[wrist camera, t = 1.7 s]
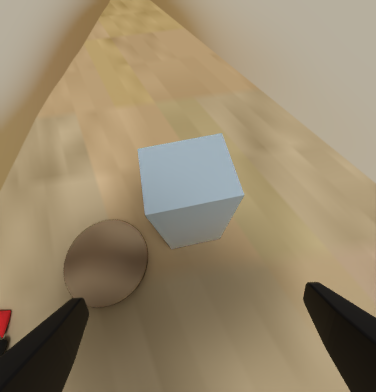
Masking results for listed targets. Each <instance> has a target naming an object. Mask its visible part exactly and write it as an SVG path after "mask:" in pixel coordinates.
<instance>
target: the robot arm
mask: <svg viewBox="0 0 376 392" xmlns="http://www.w3.org/2000/svg"><path fill="white" fill-rule="evenodd" d="M303 300H304V303H305V306H306V308H307V310H308V312H309V314H310V316H311V318H312V321H313V323H314V325H315V327H316V329H317V331H318V333H319V336H320V338H321V340H322V342H323V344H324V346H325V348H326V350H327V351H328V353H329V355H330V357H331V358H332V360H333V362H334V364H335V365H336V367H337V369H338V371H339V372H340V374H341V376H342V378H343V379H344V381H345V383H346V385H347V386H348V388H349V390H350V391H351V392H376V318H375V317H374V316H372V315H370V314H369V313H367V312H366V311H364V310H362V309H361V308H359V307H358V306H356V305H354V304H353V303H351V302H350V301H348V300H346V299H345V298H343V297H342V296H340V295H338V294H337V293H335V292H334V291H332V290H330V289H329V288H327V287H325V286H324V285H322V284H321V283H319V282H308V283H307V284H306V286H305V291H304V296H303ZM88 317H89V311H88V308H87V305H86V302H85V300H84V298H83V297H78V298H72V299H70V300H69V301H68V302H67V303H65V304H64V305H63V306H62V307H60V308H59V309H58V310H57V311H56V312H54V313H53V314H52V315H51V316H49V317H48V318H47V319H46V320H45V321H43V322H42V323H41V324H40V325H38V326H37V327H36V328H35V329H33V330H32V331H31V332H30V333H29V334H27V335H26V336H25V337H24V338H22V339H21V340H20V341H19V342H18V343H16V344H15V345H14V346H13V347H11V348H10V349H9V350H8V351H7V352H5V353H4V354H3V355H2V356H0V392H62V390H63V388H64V385H65V383H66V380H67V378H68V376H69V373H70V371H71V368H72V366H73V363H74V360H75V358H76V355H77V351H78V348H79V345H80V342H81V339H82V336H83V333H84V330H85V327H86V324H87V320H88Z"/></svg>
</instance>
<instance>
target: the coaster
mask: <svg viewBox="0 0 376 392" xmlns="http://www.w3.org/2000/svg"><path fill="white" fill-rule="evenodd" d="M147 262H148V251H147V246H146V242H145V240H144V238H143V236H142V235H141V233H140V232H139V231H138V230H137V229H136V228H135V227H133V226H132V225H130V224H129V223H127V222H124V221H120V220H105V221H101V222H98V223H96V224H94V225H92V226H90V227H88V228H87V229H85V230H84V231H83V232H82V233H81V234H80V235H79V236H78V237H77V238H76V239H75V240H74V242H73V243H72V245H71V247H70V249H69V250H68V253H67V255H66V259H65V263H64V280H65V284H66V287H67V289H68V291H69V292H70V294H71V295H72V296H73V298H78V297H83V298H84V300H85V302H86V305H87V306H90V307H105V306H109V305H112V304H115V303H118V302H120V301H121V300H123V299H125V298H126V297H127V296H129V295H130V294H131V293H132V292H133V291H134V290H135V289H136V287H137V286H138V285H139V283H140V282H141V280H142V278H143V276H144V274H145V271H146V267H147Z"/></svg>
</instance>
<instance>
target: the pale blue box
mask: <svg viewBox="0 0 376 392" xmlns="http://www.w3.org/2000/svg"><path fill="white" fill-rule="evenodd" d="M138 157H139V166H140V175H141V184H142V192H143V201H144V210H145V216H146V217H147V218H148V220H149V221H150V222H151V224H152V225H153V226H154V227H155V229H156V230H157V231H158V232H159V234H160V235H161V236H162V238H163V239H164V240H165V241H166V243H167V244H168V245H169V246H170V248H171V249H175V248H179V247H184V246H189V245H193V244H198V243H203V242H207V241H212V240H217V239H220V238H221V236H222V234H223V232H224V230H225V229H226V227H227V225H228V223H229V222H230V220H231V218H232V216H233V214H234V213H235V211H236V209H237V207H238V205H239V204H240V202H241V200H242V198H243V197H244V193H243V190H242V187H241V184H240V182H239V179H238V176H237V173H236V171H235V168H234V165H233V162H232V160H231V157H230V154H229V151H228V149H227V146H226V143H225V140H224V138H223V135H222V133H220V134H215V135H209V136H204V137H199V138H193V139H188V140H183V141H177V142H172V143H167V144H161V145H156V146H151V147H145V148H140V149H138Z"/></svg>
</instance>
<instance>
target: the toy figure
mask: <svg viewBox="0 0 376 392" xmlns="http://www.w3.org/2000/svg"><path fill="white" fill-rule="evenodd" d="M10 314H11V311H10V310H7V311H0V336H1V338H3V336H4V333H5V331H6V328H7V325H8V322H9V319H10ZM6 346H7V340H6V339H2V340H0V356H2V355H3V354H4V352H5V349H6Z"/></svg>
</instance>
